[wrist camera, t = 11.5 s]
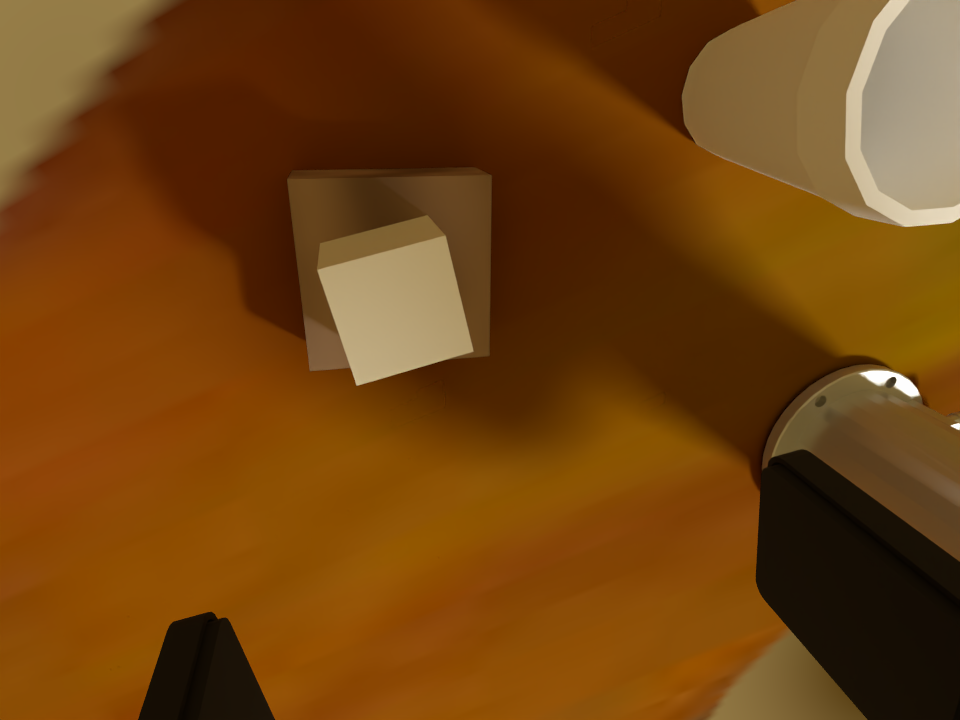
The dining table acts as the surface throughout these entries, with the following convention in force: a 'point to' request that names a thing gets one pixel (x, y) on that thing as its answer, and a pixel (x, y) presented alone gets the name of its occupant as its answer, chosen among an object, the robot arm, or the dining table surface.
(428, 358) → the cream cube
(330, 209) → the walnut base
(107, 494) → the dining table surface
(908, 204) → the foam cup
